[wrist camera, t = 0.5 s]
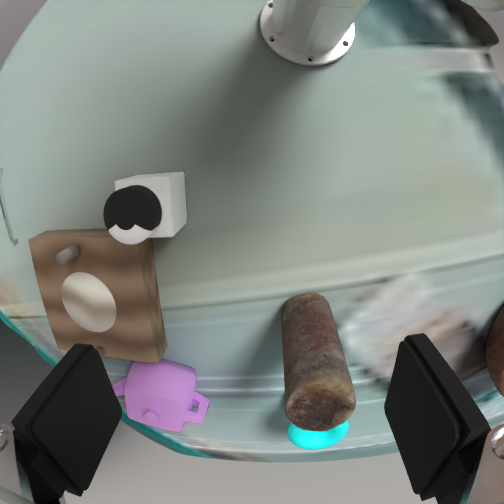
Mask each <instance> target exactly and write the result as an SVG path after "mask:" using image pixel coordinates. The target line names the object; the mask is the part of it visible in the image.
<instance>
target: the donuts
mask: <svg viewBox="0 0 504 504" xmlns="http://www.w3.org/2000/svg"><path fill="white" fill-rule="evenodd" d="M348 428H349V423H348V420H347V421H346V422H344V423H343V424H341V425H339V426H337V427H335V428H333V429H330V430H328V431H321V432H318V431H307V430H302V429H300V428H298V427H296V426H295V425H294V424H293V423H292V422H291V423H290V425H289V427H288V437H289V439H290V441H291V442H292V443H293V444H294V445H296V446H298V447H300V448H303V449H308V450H317V449H323V448H327V447H330V446H332V445H334V444H336V443H338V442H339V441H340V440H341V439H342V438H343V437H344V436H345V435H346V433H347V431H348Z"/></svg>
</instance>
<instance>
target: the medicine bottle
mask: <svg viewBox="0 0 504 504" xmlns="http://www.w3.org/2000/svg"><path fill="white" fill-rule="evenodd" d="M114 185H115V192H114V193H112V194H111V195H110V197H109V198H108V199H107V201H106V203H105V207H104V222H105V225H106V228H107V230H108V231H109V233H110V234H111V235H112V236H113V237H114V238H115V239H116V240H118V241H119V242H121V243H124V244H131V245H132V244H138V243H140V242H142V241H144V240H145V239H146V238H158V237H173V236H174V235H175V234H176V233H177V232H178V231H179V230H180V229H181V228H182V227H183V226H184V225H185V224H186V223H187V209H186V193H185V174H184V172H170V173H156V174H144V175H136V176H132V177H128V178H124V179H120V180H117V181H115V183H114Z"/></svg>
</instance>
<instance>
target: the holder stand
mask: <svg viewBox="0 0 504 504" xmlns="http://www.w3.org/2000/svg"><path fill="white" fill-rule="evenodd" d="M29 245H30V250H31V255H32V260H33V264H34V269H35V273H36V277H37V281H38V285H39V289H40V293H41V296H42V300H43V303H44V307H45V310H46V313H47V316H48V320H49V323H50V326H51V329H52V332H53V335H54V337H55V340H56V343H57V346H58V348H59V349H64V350H70V349H71V348H72V346H73V345H74V344H76V343H81V344H91V345H93V346H94V348H95V349H96V350H98V352H99V354H100V357H102V356H104V357H111V358H117V359H125V360H132V361H140V362H149V363H158V364H159V362H160V360H161V358H162V356H163V353H164V351H165V349H166V347H167V341H166V336H165V330H164V324H163V318H162V312H161V306H160V299H159V293H158V286H157V278H156V271H155V263H154V255H153V246H152V238H146V239H145V240H144V241H142V242H140V243H138V244H132V245H131V244H124V243H121V242H119V241H118V240H116V239H115V238H114V237H113V236H112V235H111V234H110V233H109V231H108V230H107V229H81V230H56V231H45V232H43V233H41V234H39V235H37V236H35V237H33V238H31V239H29Z"/></svg>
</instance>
